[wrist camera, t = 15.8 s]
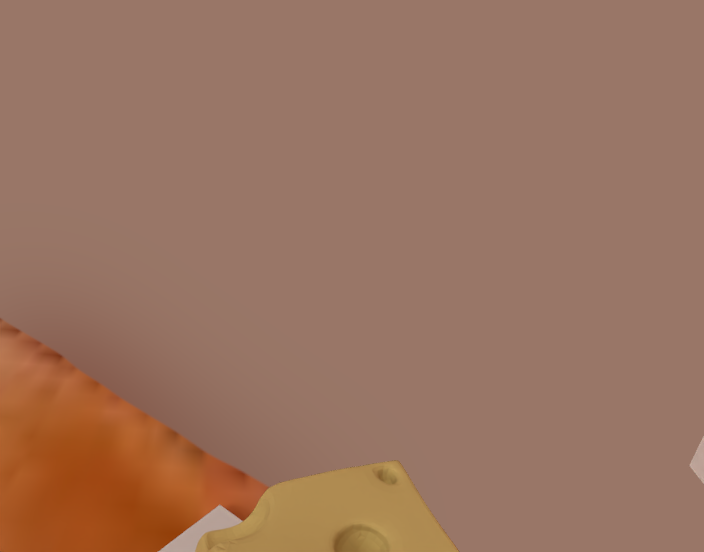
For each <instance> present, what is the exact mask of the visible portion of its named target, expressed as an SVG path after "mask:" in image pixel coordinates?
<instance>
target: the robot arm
mask: <svg viewBox="0 0 704 552" xmlns="http://www.w3.org/2000/svg"><path fill="white" fill-rule="evenodd" d="M689 466H690V467H691V468H692V470H693V471H694V472H695V474H696V475H697V476H698V477H699V478H700V479H701V481H702V482H703V483H704V436H703V438H702V441H701V443H700V445H699V447H698V449H697V451H696V453H695V455H694V457H693V459H692V461H691V463H690V465H689Z"/></svg>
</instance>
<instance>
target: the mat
mask: <svg viewBox="0 0 704 552" xmlns="http://www.w3.org/2000/svg"><path fill="white" fill-rule="evenodd" d="M241 522H243V521H242V520H240V519H239V518H238V517H236V516H235V515H234V514H232V513H231V512H229V511H228V510H227V509H225V508H224V507H222V506H221V505H219V506H217V507H216V508H215V509H214V510H212V511H211V512H210V513H208V514H207V515H206V516H204V517H203V518H202V519H200V520H199V521H198V522H196V523H195V524H194V525H193V526H191V527H190V528H189V529H187V530H186V531H185V532H183V533H182V534H181V535H179V536H178V537H177V538H175V539H174V540H173V541H171V542H170V543H169V544H168V545H166V546H165V547H164V548H162V549H161V550H160V551H158V552H195V550H196V547H197V544H198V542H199V540H200V538H201V537H202V536H203V535H204V534H205V533H206V532H209V531H214V530H220V529H225V528H229V527H233V526H235V525H238V524H239V523H241Z"/></svg>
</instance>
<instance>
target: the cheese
mask: <svg viewBox="0 0 704 552" xmlns="http://www.w3.org/2000/svg"><path fill="white" fill-rule="evenodd" d="M195 552H459V550H458V549H457V548H456V546H455V545H454V544H453V542H452V541H451V540H450V538H449V537H448V536H447V534H446V533H445V531H444V530H443V529H442V527H441V526H440V524H439V523H438V521H437V520H436V519H435V517H434V516H433V514H432V513H431V511H430V510H429V508H428V507H427V505H426V504H425V502H424V501H423V499H422V497H421V496H420V494H419V492H418V491H417V489H416V488H415V486H414V484H413V482H412V481H411V479H410V477H409V476H408V474H407V472H406V471H405V469H404V468H403V466H402V465H401V463H400V462H399V461H396V460H394V461H388V462H381V463H375V464H368V465H363V466H358V467H350V468H345V469H339V470H333V471H329V472H324V473H320V474H315V475H311V476H307V477H303V478H298V479H293V480H289V481H285V482H281V483H278V484H276V485H274V486H272V487H270V488H268V489H267V490H266V492H265V493H264V494H263V495H262V496H261V498H260V500H259V502H258V504H257V506H256V507H255V509H254V510H253V512H252V513H251V515H250V516H249V517H247V518H246V519H245V520H244V521H243V522H241V523H239V524H238V525H235V526H233V527H229V528H225V529H220V530H214V531H209V532H206V533H205V534H204V535H203V536H202V537H201V538H200V540H199V542H198V544H197V547H196V550H195Z"/></svg>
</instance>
